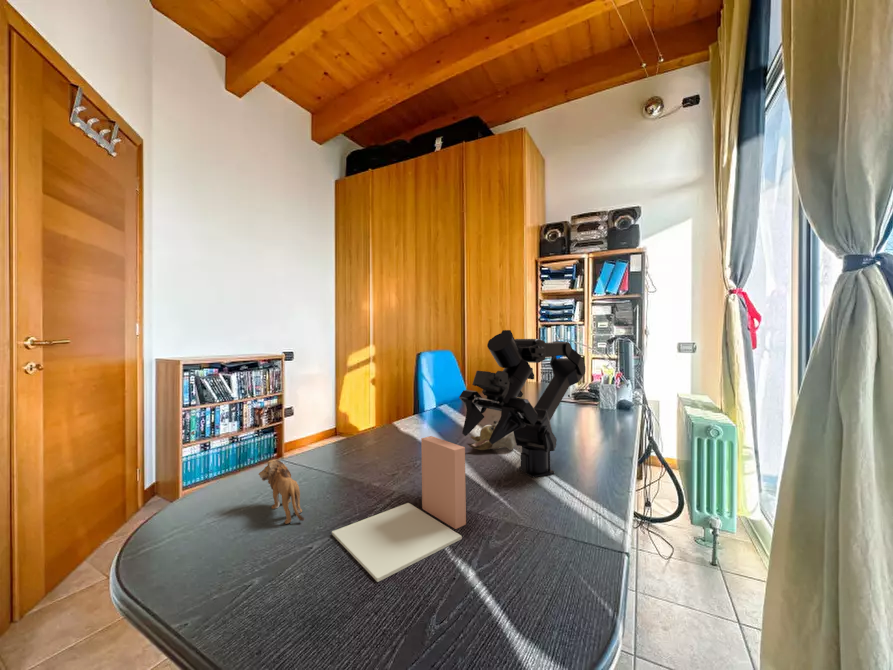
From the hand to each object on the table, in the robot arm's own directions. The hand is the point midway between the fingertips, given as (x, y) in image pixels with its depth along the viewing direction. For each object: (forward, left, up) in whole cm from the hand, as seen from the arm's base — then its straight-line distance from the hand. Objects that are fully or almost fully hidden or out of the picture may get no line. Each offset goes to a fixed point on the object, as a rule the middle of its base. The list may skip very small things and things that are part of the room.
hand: (476, 438), depth 74 cm
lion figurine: (+38, -10, -13) cm, 41 cm away
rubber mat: (+19, +7, -13) cm, 24 cm away
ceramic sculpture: (-19, -29, -13) cm, 37 cm away
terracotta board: (+9, +4, -13) cm, 16 cm away
